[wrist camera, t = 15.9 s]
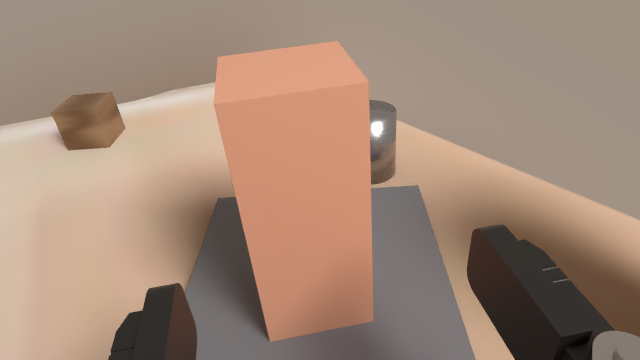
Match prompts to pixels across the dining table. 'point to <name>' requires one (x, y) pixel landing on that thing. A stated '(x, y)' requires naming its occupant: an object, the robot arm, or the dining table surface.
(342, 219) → the terracotta block
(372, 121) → the grey tin
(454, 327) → the charcoal mat
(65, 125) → the walnut cube
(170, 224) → the dining table surface
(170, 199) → the dining table surface
